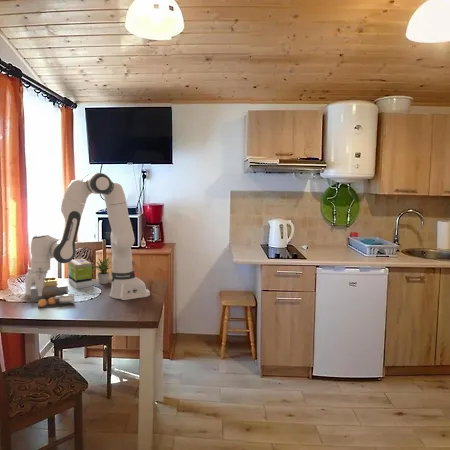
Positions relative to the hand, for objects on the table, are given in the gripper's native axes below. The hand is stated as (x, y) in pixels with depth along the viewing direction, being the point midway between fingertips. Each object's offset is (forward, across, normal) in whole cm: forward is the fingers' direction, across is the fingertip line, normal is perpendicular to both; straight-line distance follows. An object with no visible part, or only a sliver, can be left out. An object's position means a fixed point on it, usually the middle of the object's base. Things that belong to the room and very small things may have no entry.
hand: (40, 293), depth 203 cm
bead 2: (+7, +2, -5) cm, 9 cm away
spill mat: (+8, +2, -7) cm, 11 cm away
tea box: (+8, +38, -20) cm, 43 cm away
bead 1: (+7, 0, -1) cm, 7 cm away
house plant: (+7, +40, -34) cm, 53 cm away
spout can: (+7, +1, -11) cm, 13 cm away
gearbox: (+8, +14, -4) cm, 16 cm away
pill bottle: (+8, +25, +5) cm, 27 cm away
